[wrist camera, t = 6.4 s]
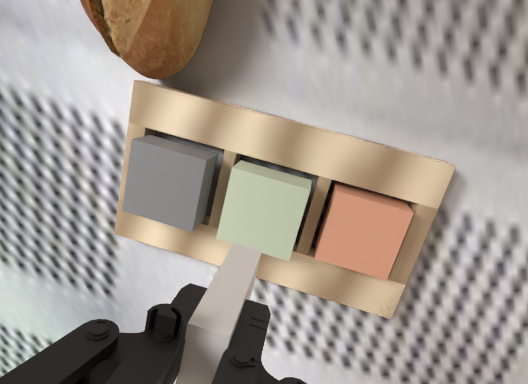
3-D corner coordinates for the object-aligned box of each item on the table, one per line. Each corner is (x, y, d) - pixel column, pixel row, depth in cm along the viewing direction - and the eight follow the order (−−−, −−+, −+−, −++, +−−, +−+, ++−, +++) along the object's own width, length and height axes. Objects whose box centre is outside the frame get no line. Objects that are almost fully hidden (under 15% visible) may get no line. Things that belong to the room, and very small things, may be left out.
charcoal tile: (140, 200, 32) (122, 210, 29) (150, 134, 30) (131, 139, 27) (204, 219, 31) (192, 231, 28) (217, 153, 29) (206, 160, 26)
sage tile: (225, 225, 31) (215, 239, 28) (240, 160, 29) (232, 167, 26) (292, 245, 30) (288, 261, 28) (311, 180, 29) (310, 189, 26)
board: (125, 226, 35) (114, 233, 33) (145, 81, 31) (134, 80, 29) (387, 305, 33) (391, 319, 31) (446, 161, 29) (455, 166, 27)
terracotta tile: (315, 243, 32) (314, 258, 29) (335, 181, 30) (336, 191, 27) (380, 263, 31) (386, 280, 29) (405, 201, 30) (414, 213, 27)
